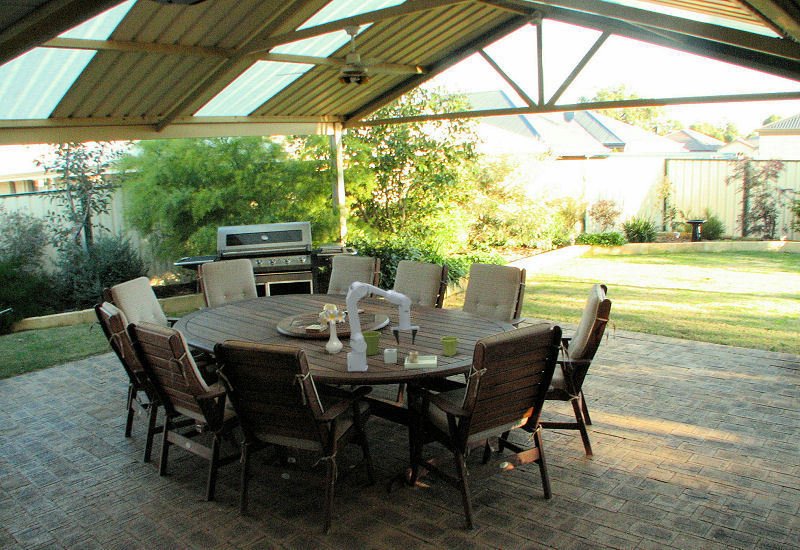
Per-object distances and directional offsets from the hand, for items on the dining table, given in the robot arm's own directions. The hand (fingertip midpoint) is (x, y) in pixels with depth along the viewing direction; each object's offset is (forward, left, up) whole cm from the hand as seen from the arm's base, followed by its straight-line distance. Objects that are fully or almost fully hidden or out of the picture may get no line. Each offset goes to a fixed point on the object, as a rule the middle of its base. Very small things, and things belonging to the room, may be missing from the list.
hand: (405, 344), depth 324 cm
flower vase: (-41, +21, -10) cm, 47 cm away
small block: (+4, -7, -9) cm, 12 cm away
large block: (-8, +1, -10) cm, 13 cm away
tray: (+8, -6, -9) cm, 13 cm away
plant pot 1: (-20, +17, -10) cm, 28 cm away
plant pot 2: (+23, +11, -10) cm, 27 cm away
